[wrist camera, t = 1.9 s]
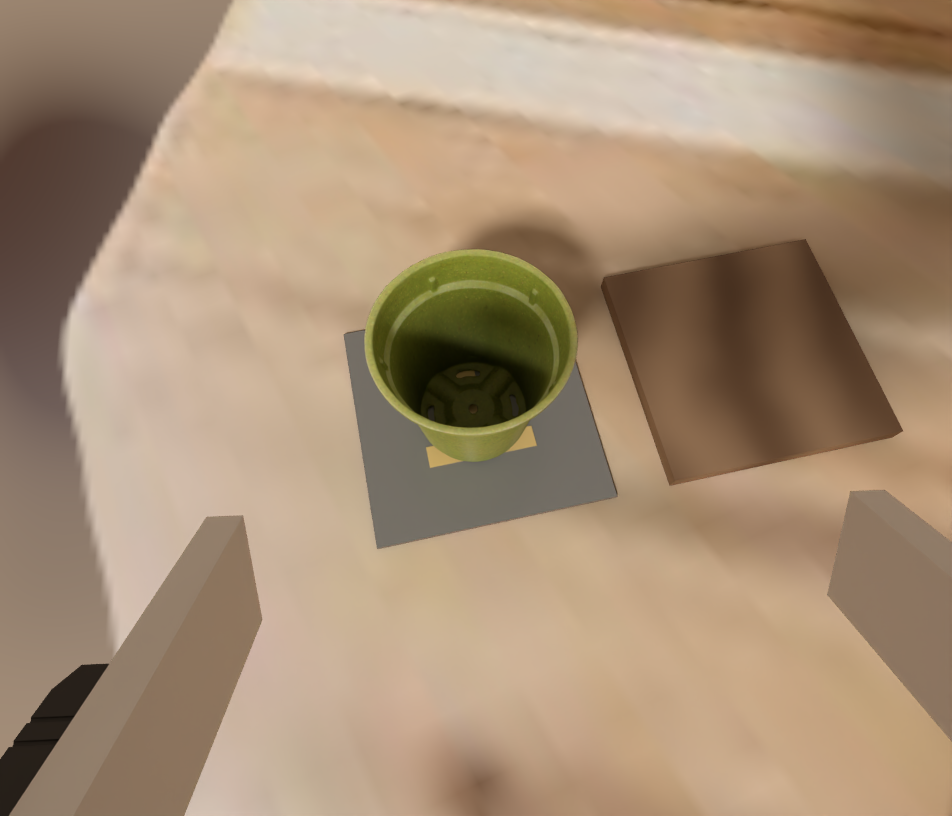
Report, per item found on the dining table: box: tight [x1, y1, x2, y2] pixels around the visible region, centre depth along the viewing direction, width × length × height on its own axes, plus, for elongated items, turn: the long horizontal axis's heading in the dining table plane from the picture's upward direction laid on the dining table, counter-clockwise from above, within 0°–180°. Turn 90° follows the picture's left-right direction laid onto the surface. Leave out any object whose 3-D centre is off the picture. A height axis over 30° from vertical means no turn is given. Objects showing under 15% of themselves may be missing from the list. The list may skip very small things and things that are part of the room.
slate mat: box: [344, 330, 617, 549], centre depth 36 cm, size 13×13×1 cm
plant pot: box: [364, 249, 578, 462], centre depth 32 cm, size 9×9×9 cm
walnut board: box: [601, 239, 903, 485], centre depth 37 cm, size 13×13×1 cm
